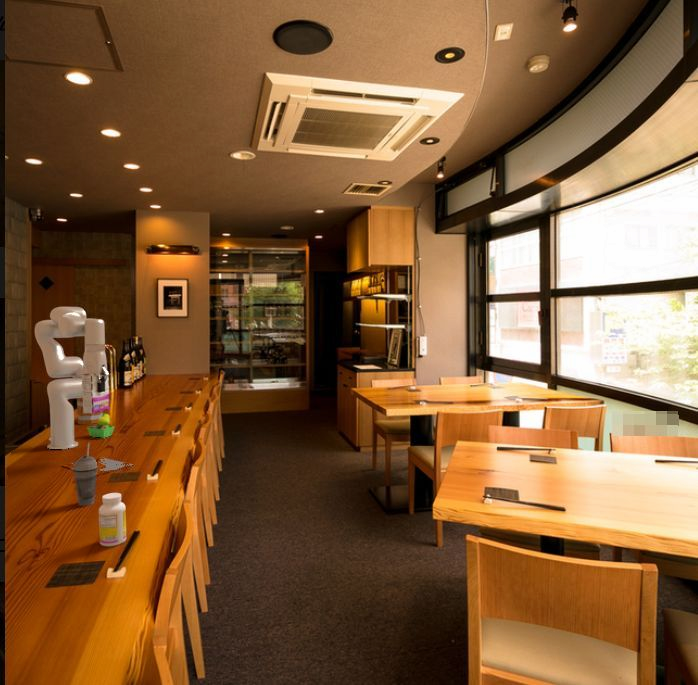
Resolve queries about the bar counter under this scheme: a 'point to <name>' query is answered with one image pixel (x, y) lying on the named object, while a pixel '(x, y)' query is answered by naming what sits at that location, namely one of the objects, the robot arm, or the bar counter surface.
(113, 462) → the mat
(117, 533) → the supplement bottle
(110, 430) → the fruit basket
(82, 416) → the mug
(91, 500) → the beverage cup
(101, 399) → the candy bar box
